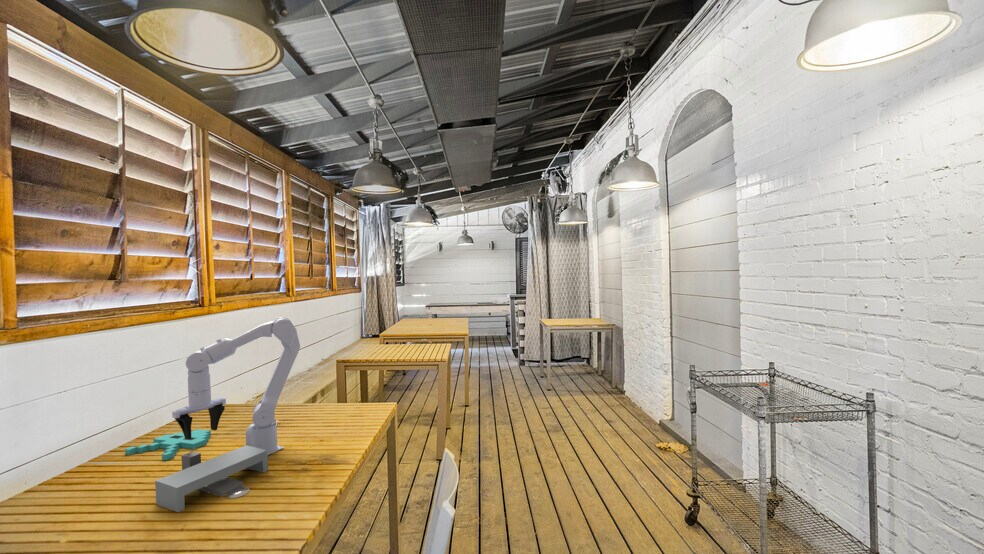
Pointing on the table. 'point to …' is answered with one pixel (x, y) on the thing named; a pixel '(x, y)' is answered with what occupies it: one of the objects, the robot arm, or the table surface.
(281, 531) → the table surface
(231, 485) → the scraper
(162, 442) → the alien figure
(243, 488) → the steel disc
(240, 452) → the grey bench
